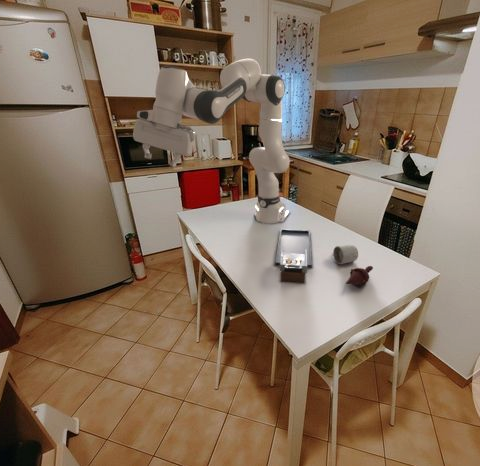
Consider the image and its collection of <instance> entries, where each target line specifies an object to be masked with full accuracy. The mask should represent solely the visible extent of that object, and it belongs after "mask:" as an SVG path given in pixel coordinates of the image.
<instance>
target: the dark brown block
mask: <svg viewBox="0 0 480 466" xmlns="http://www.w3.org/2000/svg"><path fill="white" fill-rule="evenodd" d="M305 281H306V273H302V272H286V271H280V282H281V283H293V284H305Z"/></svg>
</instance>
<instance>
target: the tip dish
mask: <svg viewBox="0 0 480 466" xmlns="http://www.w3.org/2000/svg"><path fill="white" fill-rule="evenodd" d="M283 251H284V248H282V253H281V261H280V266H279V272H281V271H286V272H302V273H305V274H306V273H307V271H308V268H307V249H305V254H292V253H283ZM287 258H290V259H292V262H290V264H287V262H286V259H287ZM296 258H301V259H302V261H301V262H300V265H296V264H297V261H296V260H295V259H296Z"/></svg>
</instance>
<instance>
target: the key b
mask: <svg viewBox="0 0 480 466" xmlns="http://www.w3.org/2000/svg"><path fill="white" fill-rule="evenodd" d="M295 260H296V261H297V264H296V265H300V262H301V261H302V259H301V258H296V259H295Z"/></svg>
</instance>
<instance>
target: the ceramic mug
mask: <svg viewBox="0 0 480 466" xmlns="http://www.w3.org/2000/svg"><path fill="white" fill-rule="evenodd" d="M332 254H333V259H334V261H335V262H336V264H338V265H343V264H347V263H348V264H349V263H353V262H356V261H357V260H358V257H359V251H358V248H357V247H356V246H355V245H353V244H346V245H345V244H344V245H336V246H334V248H333V252H332Z"/></svg>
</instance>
